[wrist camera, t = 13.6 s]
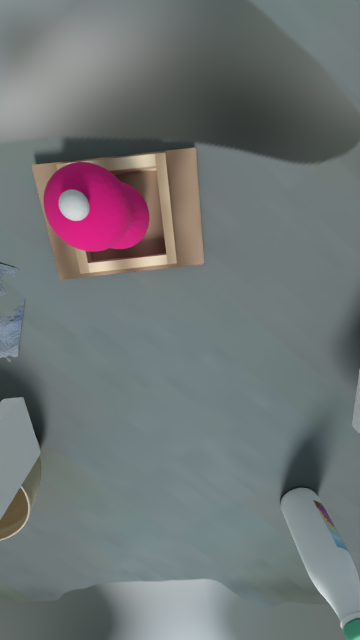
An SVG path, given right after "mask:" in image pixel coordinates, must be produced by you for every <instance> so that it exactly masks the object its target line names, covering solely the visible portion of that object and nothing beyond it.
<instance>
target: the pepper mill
mask: <svg viewBox="0 0 360 640" xmlns="http://www.w3.org/2000/svg"><path fill="white" fill-rule="evenodd" d="M43 200H44V210H45V214H46V218H47V220H48V222H49V224H50V226H51V227H52V229H53V230H54V232H55V233H56V234H57V235H58V237H59V238H61V239H62V240H63V241H64V242H66V243H67V244H68V245H70V246H72V247H74V248H77V249H80V250H84V251H91V252H94V251H102V250H106V249H108V248H113V249H126V248H130V247H132V246H134V245H136V244H137V243H138V242H140V241H141V240H142V238H143V237H144V236H145V234H146V232H147V229H148V226H149V209H148V206H147V203H146V202H145V200H144V198H143V196H142V195H141V194H140V193H139V192H138V191H137V190H136V189H135V188H133V187H132V186H130V185H128V184H126V183H124V182H120V181H119V180H118V179H117V178H116V177H115V176H114V175H113V174H112V173H111V172H110V171H108V170H107V169H105V168H103V167H101V166H99V165H96V164H93V163H89V162H75V163H71V164H68V165H65V166H64V167H62V168H60V169H59V170H57V171H56V172H55V173H54V174H53V175H52V177H51V178H50V180H49V181H48V183H47V185H46V188H45V191H44V198H43Z"/></svg>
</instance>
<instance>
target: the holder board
mask: <svg viewBox="0 0 360 640" xmlns="http://www.w3.org/2000/svg"><path fill="white" fill-rule="evenodd" d="M75 162H89V163H93V164H96V165H99V166H101V167H103V168H105V169H107V170H108V171H110V172H111V173H112V174H113V175H114V176H115V177H116V178H117V179H118V180H119V181H120V182H124V183H126V184H128V185H130V186H132V187H133V188H135V189H136V190H137V191H138V192H139V193H140V194H141V195H142V196H143V198H144V200H145V202H146V203H147V206H148V209H149V226H148V229H147V232H146V234H145V236H144V237H143V238H142V240H141V241H140V242H138V243H137V244H136V245H134V246H132V247H130V248H126V249H113V248H108V249H106V250H102V251H94V252H91V251H84V250H80V249H77V248H74V247H72V246H70V245H68V244H67V243H66V242H64V241H63V240H62V239H61V238H59V237H58V235H57V234H56V233H55V232H54V230H53V229H52V227H51V226H50V224H49V222H48V220H47V218H46V214H45V210H44V200H43V198H44V191H45V188H46V185H47V183H48V181H49V180H50V178H51V177H52V175H53V174H54V173H55V172H56V171H57V170H59V169H60V168H62V167H64V166H65V165H68V164H71V163H75ZM31 166H32V170H33V174H34V178H35V182H36V186H37V190H38V194H39V198H40V202H41V206H42V210H43V214H44V218H45V222H46V226H47V230H48V234H49V237H50V241H51V245H52V249H53V253H54V257H55V261H56V265H57V269H58V273H59V277H60V280H62V279H71V278H80V277H89V276H98V275H108V274H117V273H126V272H135V271H144V270H153V269H162V268H172V267H181V266H190V265H199V264H204V255H203V241H202V227H201V213H200V199H199V186H198V172H197V158H196V148H186V149H177V150H167V151H158V152H149V153H139V154H130V155H120V156H111V157H102V158H92V159H83V160H74V161H64V162H55V163H45V164H36V165H31Z"/></svg>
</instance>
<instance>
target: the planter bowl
mask: <svg viewBox="0 0 360 640" xmlns="http://www.w3.org/2000/svg"><path fill="white" fill-rule="evenodd" d="M36 439H37V438H36ZM37 442H38V440H37ZM38 445H39V442H38ZM39 448H40V445H39ZM40 479H41V460H40V455H39V457H38V459H37V460H36V462H35V464H34V465H33V467H32V469H31V470H30V472H29V473H28V475H27V477H26V478H25V480H24V482H23V483H22V485H21V487H20V488H19V490H18V492H17V493H16V495H15V497H14V498H13V500H12V502H11V503H10V505H9V506H8V508H7V510H6V511H5V513H4V515H3V516H2V518H1V520H0V540H4V539H6V538H9V537H11V536H13V535H14V534H16V533H17V532H18V531H19V530H21V529H22V528H23V526H24V525H25V523H26V522H27V520H28V518H29V515H30V513H31V509H32V505H33V503H34V501H35V498H36V496H37V493H38V489H39V485H40Z"/></svg>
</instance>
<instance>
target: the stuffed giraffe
mask: <svg viewBox="0 0 360 640" xmlns="http://www.w3.org/2000/svg"><path fill="white" fill-rule="evenodd" d="M19 270H20V269H19V268H15V267H11V266H7V265H3V264H0V276H1V277H3V274H2V273H4V271H6V273H10V274H11V275H13V276H14V274H15V272H17V271H19ZM1 277H0V280H1V281H2V279H1ZM4 293H6V291H5V290H4V288H3V287H2V285H1V284H0V296H1V294H2V295H5V294H4ZM6 294H7V293H6ZM22 299H23V301H21V302H22V303H24V304H25V299H24V298H22ZM23 312H24V306H18V308H17V309H15V311H14V313H16V314H15V315H16V316H13V317H11V316H9V317H6V319H5V318H4V317H3V318H4V319H2V318H1V316H0V358H1V357H6V358H7V356H12V357H13V358H14V357H18V352H19V351H18V350H19V349H18V347H19V341H20V336H21V325H22V318H23ZM7 360H8V361H9V362H10V361H11V360H10V359H8V358H7Z"/></svg>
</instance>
